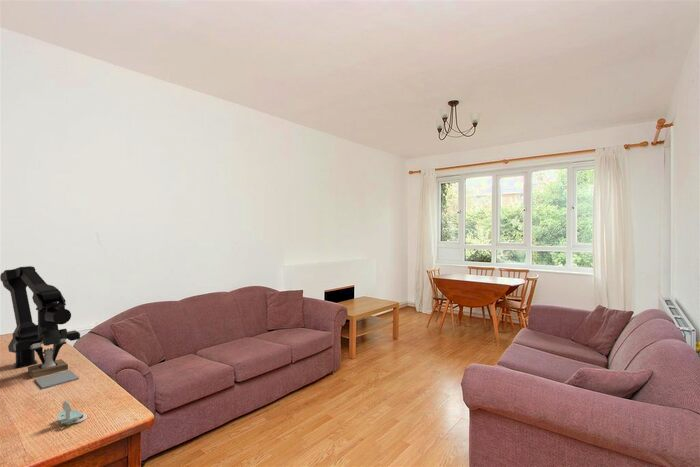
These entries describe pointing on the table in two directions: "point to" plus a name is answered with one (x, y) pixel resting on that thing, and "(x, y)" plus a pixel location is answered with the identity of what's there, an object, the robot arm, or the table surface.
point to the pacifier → (70, 415)
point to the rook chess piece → (48, 358)
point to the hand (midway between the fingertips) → (48, 362)
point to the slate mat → (56, 379)
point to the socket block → (47, 369)
